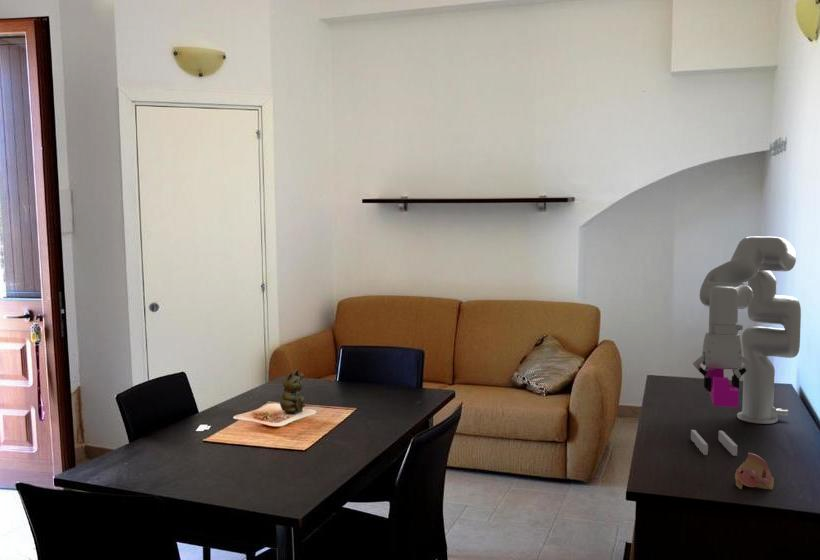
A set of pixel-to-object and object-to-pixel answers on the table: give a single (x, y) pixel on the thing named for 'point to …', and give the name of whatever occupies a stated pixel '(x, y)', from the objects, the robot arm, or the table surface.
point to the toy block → (722, 390)
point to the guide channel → (722, 438)
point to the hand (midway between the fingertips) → (721, 390)
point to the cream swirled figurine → (754, 473)
